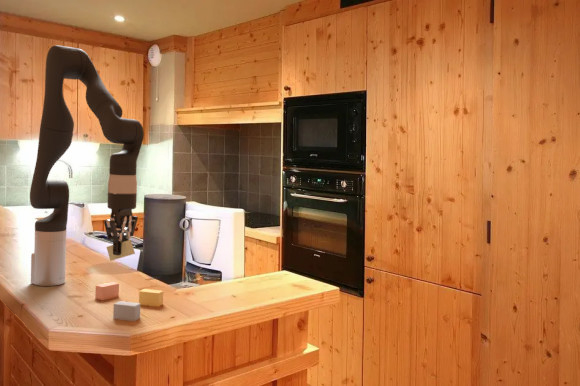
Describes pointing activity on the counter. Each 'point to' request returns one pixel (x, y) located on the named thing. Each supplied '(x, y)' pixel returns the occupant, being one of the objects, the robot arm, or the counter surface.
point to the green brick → (125, 250)
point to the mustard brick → (151, 297)
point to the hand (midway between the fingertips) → (120, 253)
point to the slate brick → (126, 311)
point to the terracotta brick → (107, 290)
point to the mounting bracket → (189, 284)
